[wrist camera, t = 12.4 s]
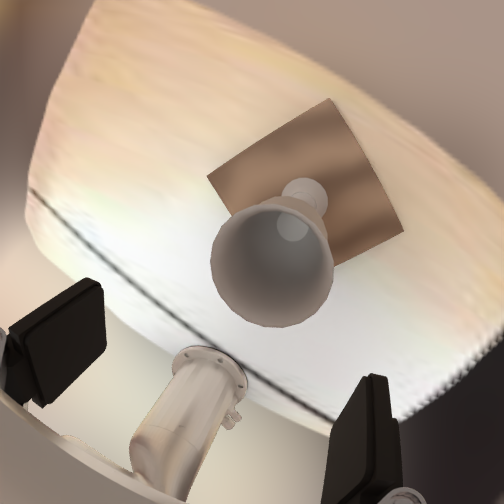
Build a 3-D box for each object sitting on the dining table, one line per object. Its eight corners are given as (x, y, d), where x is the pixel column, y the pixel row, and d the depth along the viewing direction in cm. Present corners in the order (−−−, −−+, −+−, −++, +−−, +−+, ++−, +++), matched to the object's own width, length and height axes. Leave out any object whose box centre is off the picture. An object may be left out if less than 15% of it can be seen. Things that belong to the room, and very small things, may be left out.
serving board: (400, 226, 33) (404, 231, 31) (283, 285, 40) (280, 292, 38) (329, 100, 31) (329, 97, 29) (212, 174, 37) (206, 176, 35)
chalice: (275, 163, 33) (211, 196, 16) (340, 171, 31) (344, 213, 15) (270, 229, 35) (210, 315, 19) (331, 238, 34) (321, 336, 18)
